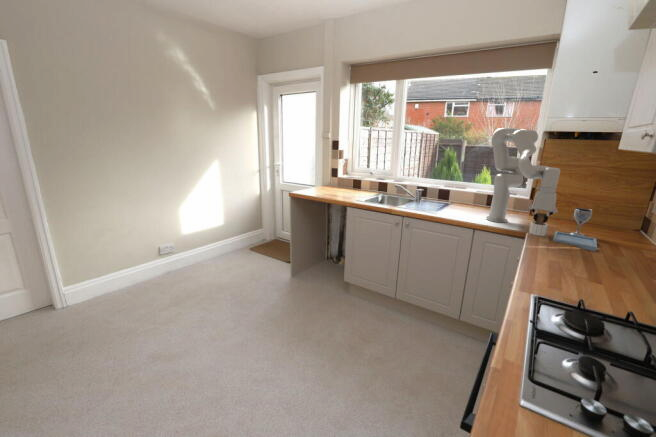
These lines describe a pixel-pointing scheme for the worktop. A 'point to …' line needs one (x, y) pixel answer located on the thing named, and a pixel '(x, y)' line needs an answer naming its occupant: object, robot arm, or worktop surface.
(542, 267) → the worktop surface
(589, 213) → the wine glass
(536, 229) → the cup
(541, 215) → the dowel
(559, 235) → the tray
